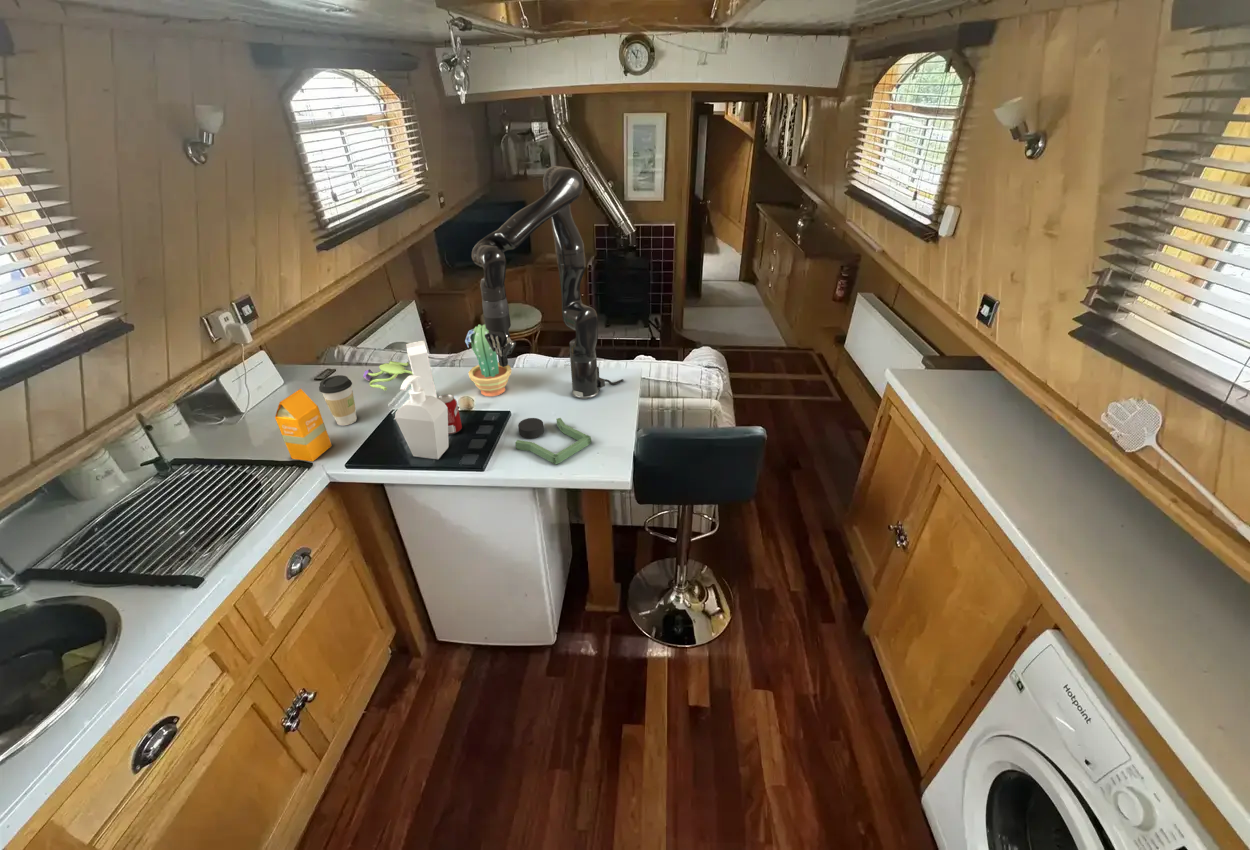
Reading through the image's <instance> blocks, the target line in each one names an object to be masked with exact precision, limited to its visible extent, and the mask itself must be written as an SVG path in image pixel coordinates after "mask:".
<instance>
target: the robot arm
mask: <svg viewBox="0 0 1250 850" xmlns="http://www.w3.org/2000/svg"><path fill="white" fill-rule="evenodd" d="M542 187H543V188H542V189H543V193H544V195H542V196H540V197H539V198H538V199H536V200H535V201H533V202H532V203H530V204H528V205H526V206H525V207H523V208H521V209H519V210H517V211H516V212H515V213H513V215H511V216H510V217H509V218H508V219H507V220H506V221H505V222H504V223H502V224H501V226H500V227H499V228H497V229H496V230H494V231H492V232H491V233H489V234H487V235H486V236H484V237H483V238H482V239H480V240H479V241H477V242H476V243H475V245H474V247H473V248H472V251H471V260H472V261H473V263H474V264H475V265H476V266H477V267H480V268H481V269H483V277H482V278H481V280H480V282H479V288H480V289H479V290H480V295H481V301H482V302H481V305H482V307H481V308H482V314H483V321H484V324H485V327H486V329H487V330H489V333H488V334H485V338H486V340H487V342H488V343H489V345H490V347H491V349H492V351H493V352H496V354H497V361H498V362H499V365H500V366H502V367H505V366H507V365H509V360H508V356H509V355H511V354H512V353H513V351H514V349H515V347H516V345H517V341H515V340H512V339H511V334H510V331H509V330H510V328H511V326H512V323H511V315H510V309H509V301H508V299H507V298H508V297H507V292H506V285H505V280H506V274H507V273H506V272H507V258H506V256H505V253H506V252H507V251H513V250H515V249H517V248H518V247H519V246H521V244H522V243H524V241H526V239H527V238H529V236H530V235H532V234H533V233H534V232H535V231H536V230H537V229H538V228H540V226H542V225H543V224H544V223H546V222H547V221H548V220H550V223H551V230H552V236H553V242H554V251H555V258H556V264H557V271H558V277H559V287H560V294H561V296H560V297H561V316H562V317H561V318H562V321H563V323H564V324H565V326H566V327H567V328H569V329H571V330H573V331H575V338H573V339H571V340H570V341H569V344H568V349H569V362H570V375H571V387H572V388H571V389H572V391H571V393H572V396H573V397H574V398H576V399H579V400H588V399H593V398H595V397H597V396H598V395H599V392H601V388H604V387H605V386H606V383H608V384H609V385H610V386H615V385H616V386H617V385H618V384H620V383H623V382H624V379H623V378H621V379H619V380H617V381H615V382H612V381H611V380H609V379H606V378H602V377H600V367H599V366H598V362H597V361H598V360H597V359H598V358H597V344H598V341H599V317H598V313H597V311H596V310H595V309H594V308H593V307H591V306H589V305H588V304H585V303H583V301H582V295H581V282H582V279H583V276H584V274H585V271H586V267H587V258H586V249H585V243H584V240H583V237H582V235H581V233H580V230H579V228H578V226H577V224H576V222H575V220H574V217H573V213H572V209H571V204H572V203H573V202H575V201H576V200H577V199H578V198H579V197H580V196H581V195H582V193H583V191H584V190H583V189H584V178H583V176H582V175H581V173H580V172H579V171H578V170H576V169H574V168H572V167H566V166H559V165H552V166H550V167H548V168H547V169H546V170H545V173H544V174H543V179H542Z"/></svg>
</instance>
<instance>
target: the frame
mask: <svg viewBox="0 0 1250 850" xmlns="http://www.w3.org/2000/svg"><path fill="white" fill-rule="evenodd" d="M555 421H556V426H557V427H558V429H559V430H560V432H561V433H562V434H564V435H566V436H567V437H570V438H572V439H574V440H576V441H574V442H573V443H572V444H570V445H568V446H567V447H565V448H563V449H561V450H560V451H558V452H557V453H555V452H552V451H551V450H548V449H547V448H545V447H543V446H541V445H539V444H537V443H535V442H533V441H527V440H523V439H522V440H521V439H517V440H516V441H515V449H516V450H518V451H519V450H520V451H527V452H531V453H533V454H534V455H536V456H538V457H541V458H542V459H544V460H545V461H548V462H549V463H551V464H553V465H554V466H557V465H558V464H560V463H563V461H565V460H567V459H568V458H570V457H572V456H573V455H575V454H577V453H579V452H580V451H581V450H583V449H585V448H586V447H588V446H589V445H591V444H592V437H591V436H590V435H588V434H586V433H584V432H581V431H579V430H577V429H576V428H573V427H571V426H570V425H567V424H566V423H565V422H564V420H563V419H562V418H561V417H557V418H556V420H555Z"/></svg>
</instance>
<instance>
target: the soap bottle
mask: <svg viewBox="0 0 1250 850" xmlns="http://www.w3.org/2000/svg"><path fill="white" fill-rule="evenodd" d="M419 378H423V376H416V375H412V374H409V375H408V376H407V377H405V379H404V380H403V381H402V383H401V385H400V388H399V390H400V391H404V392H405V391H406V390H407V388H408V387H410V386H411V388H410V389H409V390H408V394H409V398H408V400H406V401H405V402H404V403H403V404H401V406H400V407H398V409H397V410H396V411H395V414H394V419H395V421H396V423H397V425H398V427H399V430H400V432H401V433H402V436H403V438H404V440H405V442H406V444H407V446H408V448H409V451H410V453H411V455H412V457H416V458H422V459H423V458H424V459H432V460H439V459H441V457H442V456H443V454H444V453H445V452H446V451H447V450H448V449H449V435H448V407H447V406H446V405H445V403H443V402H442V401H441V400H439V399H438V398H435V397H433V396H429V395H425V393H424V389H423V388H420V387H419V384H418V380H417V379H419Z"/></svg>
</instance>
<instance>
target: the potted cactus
mask: <svg viewBox="0 0 1250 850" xmlns="http://www.w3.org/2000/svg"><path fill="white" fill-rule="evenodd" d="M488 333H489V330H487V329H486V327H485V323H484V324H478V325H475V326H474V328H472V329H470V330H468V331H467V334H466V337H465V340H464V342H465V344H466V347H467V348H468V349H469V348H470V346H471V350H472V351H473V353H474V355H475V356H476V359H477V362H478V364H477V365H475V366H473V367H471V369H470V370H469V371H468V376H469V379H470V381H472V382H473V384H474V385H475V387H476V388H477V389H478V390H479V391H480V393H481V395H482V396H485V397H496V396H499V395H502V394H504V392H505V391H506V386H507V384H508V382H509V379H510V376H511V375H512V367H511V365H509V364H508V365H507V366H505V367H502V366H500V365H499V360H498V355H497V354H496V352H493V351H492V349H491V347H490V345H489V343H488V342H487V340H486V338H485V334H488ZM469 345H470V346H469Z"/></svg>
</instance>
